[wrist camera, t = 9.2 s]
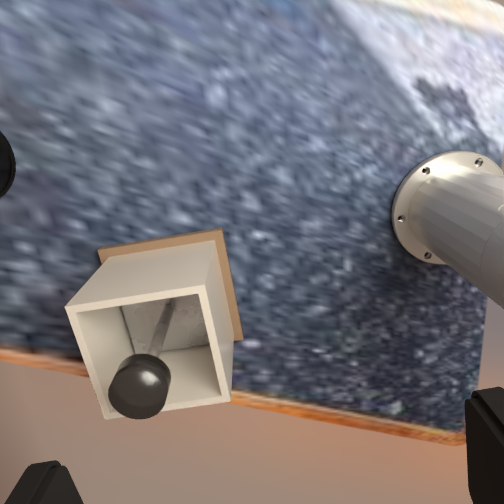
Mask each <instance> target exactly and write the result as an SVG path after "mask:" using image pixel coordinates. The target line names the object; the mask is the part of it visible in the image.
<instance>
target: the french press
mask: <svg viewBox="0 0 504 504" xmlns="http://www.w3.org/2000/svg"><path fill="white" fill-rule="evenodd" d="M15 172H16V162H15V157H14V153H13V151H12V148H11V146H10V144H9V142H8V141H7V139H6V137H5V136H4V135H3V134H2V133H1V131H0V197H1V196H3V195H4V194H5V193H6V192H7V191H8V190H9V188H10V187H11V185H12V183H13V181H14V177H15Z"/></svg>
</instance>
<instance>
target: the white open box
mask: <svg viewBox="0 0 504 504" xmlns="http://www.w3.org/2000/svg"><path fill="white" fill-rule="evenodd" d="M98 254H99V257H100V260H101V263H102V265H101V266H100V268H99V269H98V270H97V271H96V272H95V273H94V274H93V275H92V277H91V278H90V279H89V280H88V281H87V282H86V283H85V284H84V286H83V287H82V288H81V289H80V290H79V291H78V292H77V293H76V295H75V296H74V297H73V298H72V299H71V300H70V301H69V302H68V304H67V305H66V306H65V309H66V312H67V315H68V317H69V320H70V323H71V326H72V329H73V332H74V334H75V337H76V340H77V343H78V346H79V348H80V351H81V354H82V357H83V360H84V363H85V365H86V368H87V371H88V374H89V377H90V379H91V382H92V385H93V388H94V391H95V393H96V396H97V399H98V402H99V405H100V408H101V411H102V413H103V416H104V419H105V420H107V419H114V418H121V417H126V416H123V415H122V414H120V413H118V412H117V411H116V410H115V409H114V408H113V407H112V405H111V403H110V401H109V398H108V389H109V386H110V384H111V382H112V380H113V378H114V376H115V374H116V372H117V369H118V367H119V365H120V364H121V362H122V361H123V360H124V359H126V358H127V357H129V356H131V355H134V354H136V353H135V350H134V346H133V343H132V340H131V336H130V333H129V330H128V327H127V323H126V320H125V317H124V313H123V310H122V307H121V306H122V305H128V304H134V303H141V302H147V301H153V300H160V299H166V298H172V297H179V296H185V295H192V294H199V299H200V303H201V307H202V312H203V316H204V321H205V325H206V329H207V334H208V338H209V342H210V344H206V345H200V346H193V347H187V348H180V349H174V350H167V351H161V352H160V355H159V358H160V359H161V360H162V361H164V362H165V364H166V365H167V366H168V368H169V370H170V372H171V383H170V387H169V391H168V394H167V398H166V402H165V405H164V407H163V408H162V410H161V411H160V412H162V411H168V410H175V409H182V408H189V407H195V406H203V405H209V404H216V403H223V402H230V401H231V386H232V364H233V343H234V341H238V340H244V335H243V330H242V325H241V320H240V315H239V310H238V304H237V299H236V294H235V289H234V284H233V279H232V274H231V269H230V264H229V259H228V254H227V248H226V243H225V238H224V233H223V228H222V227H221V228H215V229H209V230H203V231H197V232H191V233H185V234H179V235H173V236H166V237H160V238H154V239H148V240H142V241H136V242H130V243H124V244H118V245H111V246H105V247H100V248H99V249H98Z"/></svg>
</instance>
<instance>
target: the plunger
mask: <svg viewBox="0 0 504 504" xmlns="http://www.w3.org/2000/svg"><path fill="white" fill-rule="evenodd" d="M121 307H122V310H123V313H124V317H125V320H126V323H127V327H128V330H129V333H130V336H131V340H132V343H133V346H134V350H135V353H136V354H134V355H131V356H129V357H127V358H126V359H124V360H123V361H122V362H121V364H120V365H119V367H118V369H117V372H116V374H115V376H114V378H113V380H112V382H111V384H110V386H109V389H108V398H109V401H110V403H111V405H112V407H113V408H114V409H115V410H116V411H117V412H118V413H120V414H122V415H123V416H126V417H129V418H132V419H146V418H150V417H152V416H154V415H156V414H158V413H159V412H160V411H161V410H162V408H163V407H164V405H165V402H166V398H167V394H168V391H169V387H170V383H171V372H170V370H169V368H168V366H167V365H166V364H165V362H164V361H162V360H161V359H160V358H159V355H160V352H161V351H167V350H174V349H180V348H187V347H193V346H200V345H206V344H210V342H209V338H208V334H207V329H206V325H205V321H204V316H203V312H202V307H201V303H200V299H199V294H192V295H185V296H179V297H172V298H166V299H160V300H153V301H147V302H141V303H134V304H128V305H122V306H121Z"/></svg>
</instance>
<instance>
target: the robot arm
mask: <svg viewBox="0 0 504 504" xmlns="http://www.w3.org/2000/svg"><path fill="white" fill-rule="evenodd" d="M476 160H477V162H476V163H475V161H476ZM423 168H425V171H424V172H422V170H423ZM399 216H401V218H400V219H398V217H399ZM392 224H393V229H394V232H395V234H396V237H397V239H398V240H399V242H400V243H401V245H402V246H403V247H404V248H405V249H406V250H407V251H408V252H409V253H410V254H412V255H413V256H415V257H416V258H418V259H420V260H422V261H424V262H427V263H432V264H442V265H449V266H450V267H451V268H453V269H454V270H455V271H456V272H458V273H459V274H460V275H461V276H463V277H464V278H465V279H466V280H468V281H469V282H470V283H472V284H473V285H474V286H475V287H477V288H478V289H479V290H480V291H482V292H483V293H484V294H485V295H487V296H488V297H489V298H491V299H492V300H493V301H494V302H496V303H497V304H498V305H500V306H501V307H502V308H503V309H504V173H503V171H502V170H501V168H500V167H499V166H498V165H497V164H496V163H495V162H493V161H492V160H490V159H489V158H487V157H486V156H483V155H480V154H477V153H474V152H469V151H456V150H454V151H448V152H442V153H440V154H437V155H434V156H431V157H430V158H428V159H426V160H424V161H423V162H421V163H420V164H419V165H417V166H416V167H415V168H414V169H412V170H411V172H410V173H409V174H408V175H407V176H406V177H405V178H404V180H403V181H402V183H401V185H400V186H399V188H398V190H397V193H396V195H395V198H394V201H393V206H392ZM426 252H427V253H426ZM425 253H426V254H425ZM424 254H425V255H424ZM465 422H466V443H467V465H468V486H469V492H470V496H471V499H472V501H473V504H504V389H503V388H501V387H495V388H489V389H483V390H477V391H473V392H472V395H471V399H466V400H465ZM5 504H83V501H82V499H81V497H80V495H79V493H78V491H77V489H76V487H75V484H74V482H73V480H72V478H71V476H70V474H69V471H68V469H67V468H66V467H65V466H61V464H60V463H59V462H58V461H56V460H55V461H48V462H42V463H36V464H31V465H30V466H28V468H27V469H26V470H25V472H24V473H23V475H22V476H21V478H20V479H19V481H18V483H17V484H16V486H15V488H14V489H13V491H12V492H11V494H10V496H9V497H8V499H7V500H6V502H5Z"/></svg>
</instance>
